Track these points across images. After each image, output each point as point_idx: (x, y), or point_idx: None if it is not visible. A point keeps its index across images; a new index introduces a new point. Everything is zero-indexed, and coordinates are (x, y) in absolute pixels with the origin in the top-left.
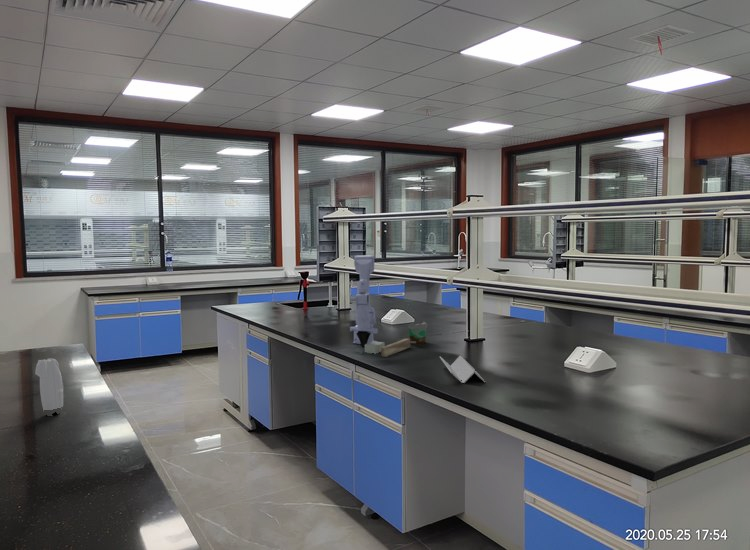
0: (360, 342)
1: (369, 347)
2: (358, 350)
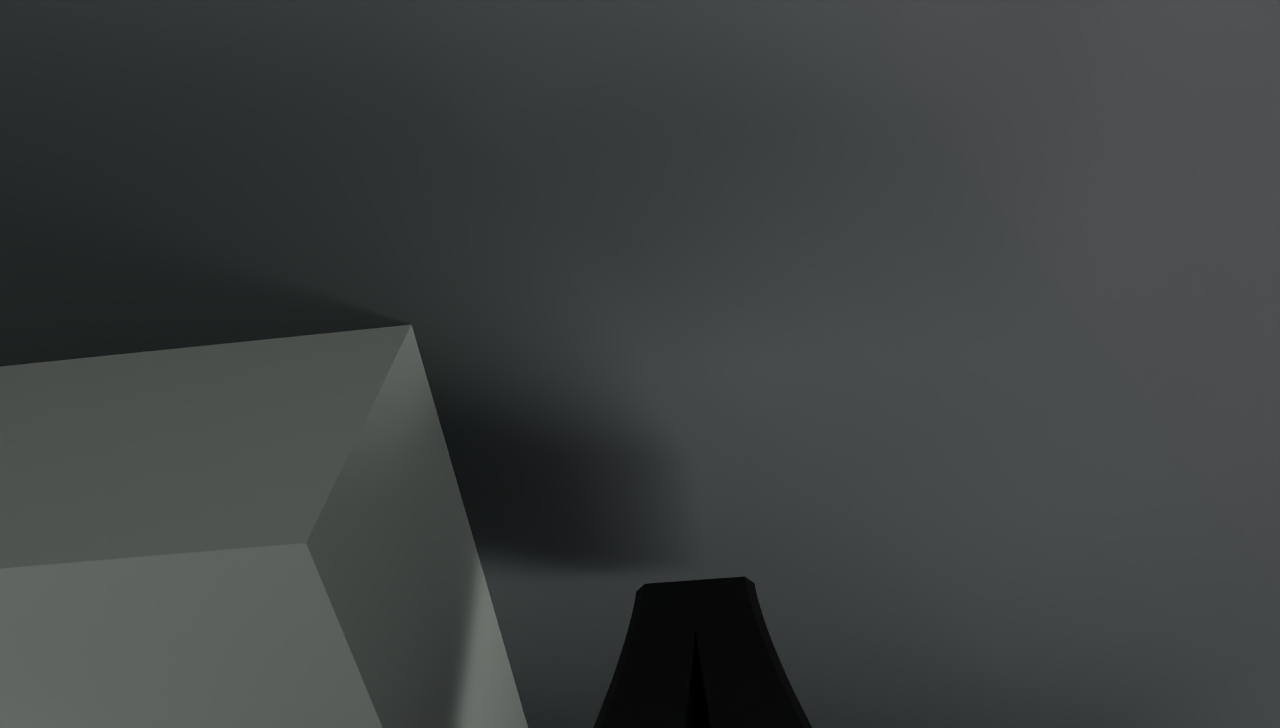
0: (797, 725)
1: (73, 487)
2: (854, 449)
